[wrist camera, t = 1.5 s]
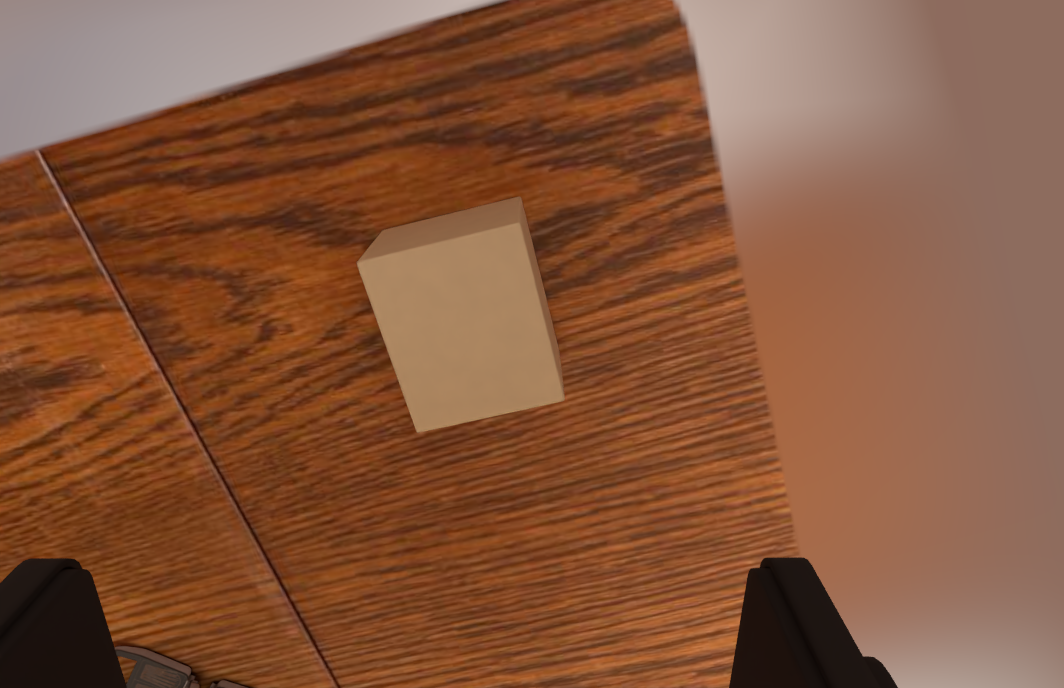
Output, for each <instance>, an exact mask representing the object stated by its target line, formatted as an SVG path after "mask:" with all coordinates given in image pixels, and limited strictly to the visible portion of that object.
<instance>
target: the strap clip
mask: <svg viewBox="0 0 1064 688" xmlns="http://www.w3.org/2000/svg"><path fill="white" fill-rule="evenodd" d="M115 651H116V654H117V656H121V657H125V658H128V659H132V660H136V661H137V663H136V665H135V667H134V669H133V672H132V674H131V676H130V678H129V680H128V682H127V684H126V686H127V688H200V685H199V684H198V682H199V681H195V680H194V678H195V676H192V675H191V668H190V667H188V666H185V665H183V664H181V663H178V662H176V661H173V660H171V659H169V658H166V657H164V656H161V655H159V654H156V653H154V652H152V651H149V650H147V649H144V648H136V647H129V646H118V647H115ZM210 688H247V687H244V686H241V685H238V684H235V683H232V682H228V681H225V680H222V681H220V682H219V683H218V684H214V683H212V684H211V686H210Z"/></svg>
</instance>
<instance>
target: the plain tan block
mask: <svg viewBox="0 0 1064 688" xmlns="http://www.w3.org/2000/svg"><path fill="white" fill-rule="evenodd" d="M357 266H358V269H359V272H360V275H361V277H362V280H363V283H364V286H365V289H366V291H367V294H368V297H369V300H370V303H371V305H372V308H373V311H374V314H375V317H376V319H377V322H378V325H379V328H380V331H381V333H382V336H383V339H384V342H385V345H386V348H387V350H388V353H389V356H390V359H391V362H392V364H393V367H394V370H395V373H396V376H397V378H398V381H399V384H400V387H401V390H402V392H403V395H404V398H405V401H406V404H407V406H408V409H409V412H410V415H411V418H412V420H413V423H414V426H415V429H416V431H417V433H420V432H425V431H429V430H434V429H438V428H443V427H447V426H452V425H457V424H461V423H466V422H470V421H475V420H479V419H484V418H488V417H493V416H498V415H502V414H507V413H511V412H516V411H520V410H525V409H530V408H534V407H539V406H543V405H548V404H552V403H557V402H561V401H564V400H565V396H564V387H563V379H562V370H561V361H560V353H559V348H558V344H557V340H556V335H555V331H554V327H553V323H552V319H551V315H550V311H549V307H548V303H547V299H546V295H545V291H544V287H543V283H542V279H541V275H540V271H539V267H538V263H537V259H536V255H535V251H534V247H533V243H532V239H531V235H530V231H529V227H528V223H527V219H526V215H525V211H524V207H523V203H522V198H521V197H515V198H511V199H507V200H503V201H499V202H495V203H491V204H487V205H483V206H479V207H475V208H470V209H466V210H462V211H458V212H454V213H450V214H446V215H442V216H438V217H434V218H430V219H426V220H422V221H418V222H414V223H410V224H406V225H401V226H397V227H393V228H389V229H385V230H383V231H382V232H381V233H380V234H379V235H378V237H377V238H376V239H375V240H374V242H373V243H372V244H371V245H370V247H369V248H368V249H367V250H366V252H365V253H364V254H363V255H362V257H361V258H360V259H359V260H358V261H357Z"/></svg>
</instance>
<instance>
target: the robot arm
mask: <svg viewBox="0 0 1064 688" xmlns="http://www.w3.org/2000/svg"><path fill="white" fill-rule="evenodd" d="M0 688H127V686H126V683H125V680H124V677H123V674H122V670H121V667H120V664H119V661H118V658H117V654H116V651H115V648H114V645H113V642H112V638H111V635H110V632H109V629H108V626H107V622H106V619H105V616H104V613H103V609H102V606H101V603H100V600H99V597H98V593H97V590H96V587H95V584H94V581H93V577H92V575H91V573H90V572H89V571H88V570H85V569H82V567H81V565H80V563H79V562H77V561H76V560H75V559H28V560H25V561H23V562H22V563H21V564H19V565H18V566H17V567H16V568H15V569H14V570H13V571H12V572H11V573H10V574H9V575H8V576H7V577H6V578H5V579H4V580H3V581H2V582H1V583H0ZM729 688H898V687H897V686H896V684H895V682H894V680H893V679H892V677H891V675H890V674H889V672H888V671H887V670H886V668H885V667H884V666H883V664H882V663H881V662H880V661H878V660H877V659H875V658H874V657H863V656H862V654H861V652H860V651H859V649H858V647H857V645H856V644H855V642H854V640H853V638H852V636H851V634H850V633H849V631H848V629H847V627H846V626H845V624H844V622H843V620H842V618H841V617H840V615H839V613H838V611H837V609H836V608H835V606H834V605H833V602H832V601H831V599H830V597H829V595H828V593H827V592H826V590H825V588H824V586H823V585H822V583H821V581H820V579H819V577H818V576H817V574H816V572H815V570H814V568H813V567H812V565H811V564H810V563H809V561H808V560H807V559H805V558H764V559H763V561H762V562H761V565H760V568H752V569H750V571H749V573H748V578H747V584H746V590H745V596H744V602H743V608H742V614H741V620H740V626H739V632H738V638H737V644H736V650H735V656H734V662H733V668H732V674H731V680H730V686H729Z"/></svg>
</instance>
